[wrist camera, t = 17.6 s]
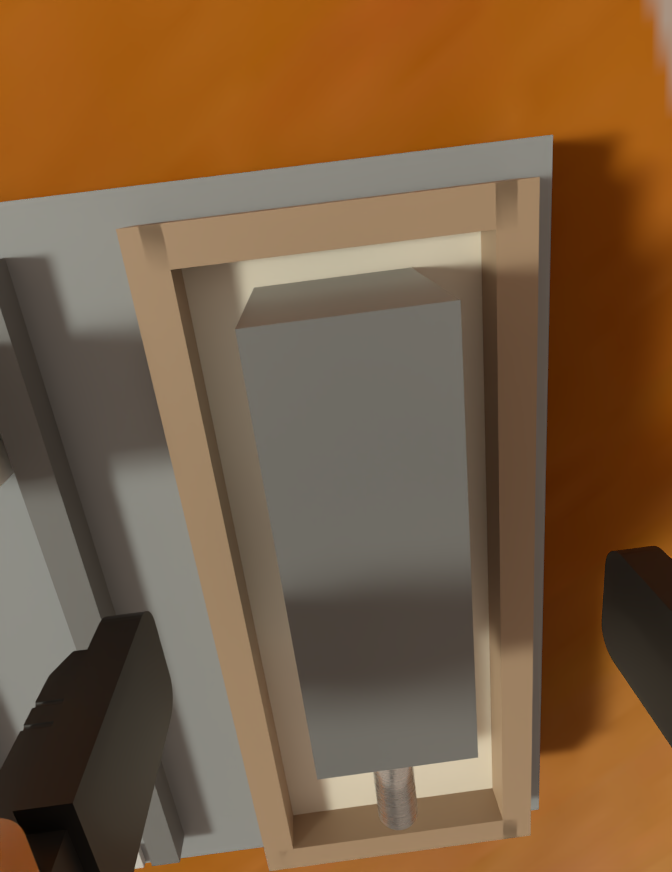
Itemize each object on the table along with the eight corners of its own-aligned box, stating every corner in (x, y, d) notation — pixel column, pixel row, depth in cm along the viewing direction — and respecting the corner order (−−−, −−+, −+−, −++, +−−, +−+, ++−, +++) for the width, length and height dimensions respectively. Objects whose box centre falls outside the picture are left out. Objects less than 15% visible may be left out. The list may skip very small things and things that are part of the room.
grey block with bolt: (443, 736, 17) (482, 886, 13) (331, 751, 17) (340, 906, 13) (410, 267, 12) (460, 299, 8) (253, 287, 12) (234, 329, 8)
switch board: (517, 753, 21) (553, 848, 18) (22, 820, 20) (-25, 927, 17) (518, 142, 13) (580, 129, 10) (-246, 236, 13) (-402, 248, 10)
